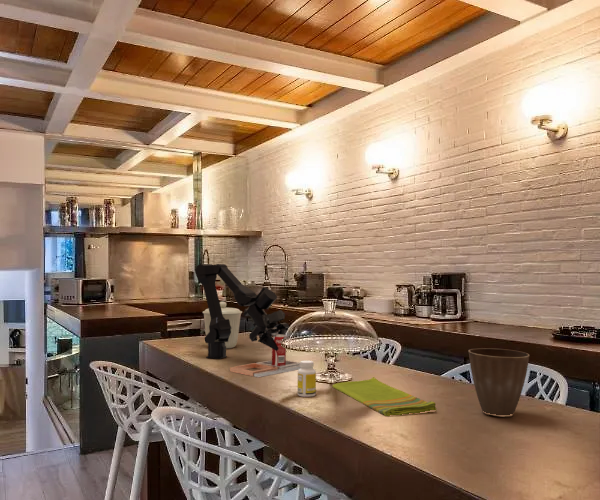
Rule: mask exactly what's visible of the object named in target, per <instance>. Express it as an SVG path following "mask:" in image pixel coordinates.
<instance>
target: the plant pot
mask: <svg viewBox="0 0 600 500" xmlns="http://www.w3.org/2000/svg"><path fill="white" fill-rule="evenodd" d="M468 355H469V356H468V357H469V366H470V371H471V375H472V381H473V384H474V385H473V386H474V389H475V393H476V396H477V398H478V399H477V400H478V402H479V406H480V408H481V411H482V412H483V411H484V412H486V413H490V414H496V415H510V414H513V413H514V414H515V412H516V410H517V409H516V408H517V407H518V405H519V404H518V403H519V401H520V398H521V396H522V393H523V392H522V391H523V388H524V384H525V382H526V381H525V380H526V376H527V373H528V366H529V361H530V354H529V353H527V352H524V351H519V350H513V349H504V348H492V347H491V348H490V347H489V348H488V347H487V348H485V347H484V348H483V347H481V348H471V349H468ZM514 414H513V415H514Z"/></svg>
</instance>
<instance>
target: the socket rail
mask: <svg viewBox="0 0 600 500" xmlns="http://www.w3.org/2000/svg"><path fill="white" fill-rule="evenodd" d="M300 368H301V367H300V361H299V362H298V361H294V360H293V361H292V360H287V359H286V365H284V366H275V365H272V359H271V360H264V361H258V362H256V363H255V362H252V363H247V364H242V365H241V364H240V365H235V366H230V367H229V372H230V373H236V374H242V375H245V376H250V377H255V378H260V377H266V376H271V375H272V376H273V375H276V374H283V373H287V372H292V371H296V370H297V371H298V370H299V369H300ZM249 369H257V370H249Z"/></svg>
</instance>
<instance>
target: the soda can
mask: <svg viewBox="0 0 600 500" xmlns="http://www.w3.org/2000/svg"><path fill="white" fill-rule="evenodd" d="M273 335H274V336H273ZM273 335H272V338H273V339H274V341H275V343H276V345H277V346H278V348H279V349H278V351H276V350H274V349H272V348H271V360H272V365H275V366H284V365H286V360H287V359H286V358H287V356H286V355H287V348H286V349H285V348H283V347H282V346H281V341H282V339H283V338H284V336H285V337H286V333H285V334H273Z"/></svg>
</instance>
